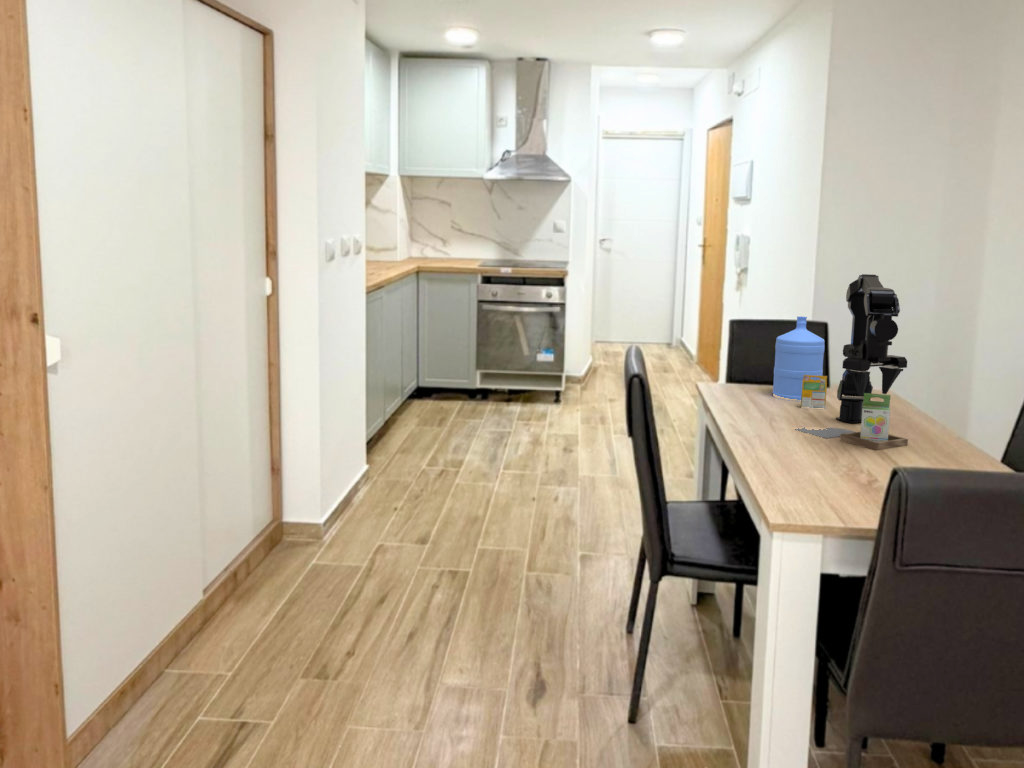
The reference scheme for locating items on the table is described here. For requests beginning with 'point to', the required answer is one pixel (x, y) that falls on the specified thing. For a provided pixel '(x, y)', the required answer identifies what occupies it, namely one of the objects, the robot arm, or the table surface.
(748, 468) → the table surface
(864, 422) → the ink box
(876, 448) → the holder
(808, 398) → the crayon box
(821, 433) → the mat
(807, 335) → the water jug
